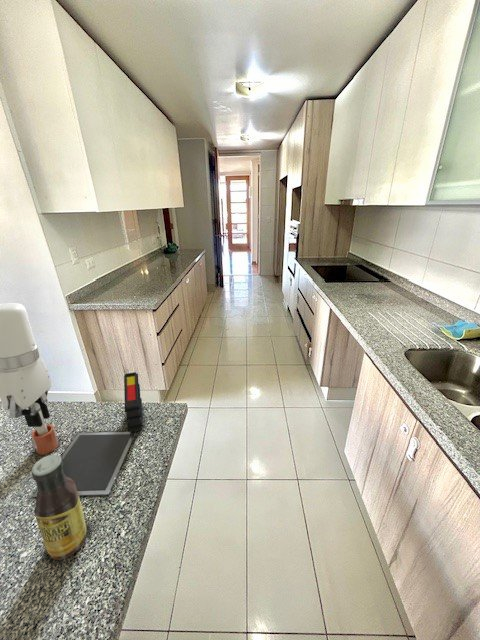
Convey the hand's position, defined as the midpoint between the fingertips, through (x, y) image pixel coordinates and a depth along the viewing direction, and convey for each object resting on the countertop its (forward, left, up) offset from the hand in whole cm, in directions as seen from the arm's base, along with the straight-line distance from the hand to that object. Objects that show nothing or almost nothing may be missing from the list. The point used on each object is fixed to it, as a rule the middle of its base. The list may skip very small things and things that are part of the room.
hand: (39, 421), depth 65 cm
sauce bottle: (+18, -22, -9) cm, 30 cm away
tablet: (+13, -4, -9) cm, 17 cm away
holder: (0, 0, -9) cm, 9 cm away
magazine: (+20, +9, -9) cm, 24 cm away
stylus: (0, 0, -9) cm, 9 cm away
